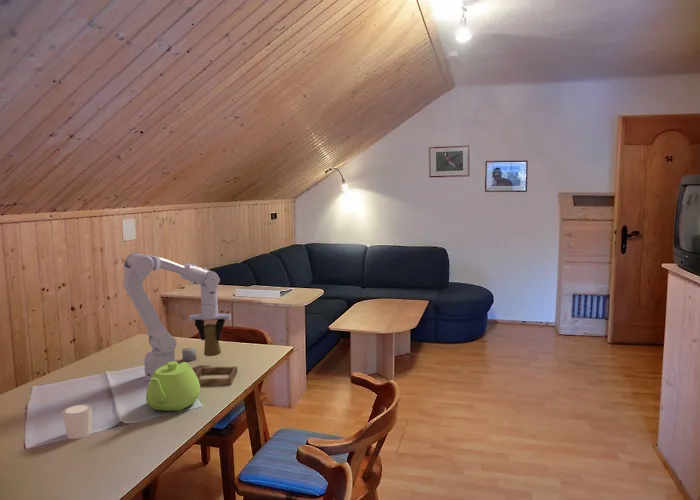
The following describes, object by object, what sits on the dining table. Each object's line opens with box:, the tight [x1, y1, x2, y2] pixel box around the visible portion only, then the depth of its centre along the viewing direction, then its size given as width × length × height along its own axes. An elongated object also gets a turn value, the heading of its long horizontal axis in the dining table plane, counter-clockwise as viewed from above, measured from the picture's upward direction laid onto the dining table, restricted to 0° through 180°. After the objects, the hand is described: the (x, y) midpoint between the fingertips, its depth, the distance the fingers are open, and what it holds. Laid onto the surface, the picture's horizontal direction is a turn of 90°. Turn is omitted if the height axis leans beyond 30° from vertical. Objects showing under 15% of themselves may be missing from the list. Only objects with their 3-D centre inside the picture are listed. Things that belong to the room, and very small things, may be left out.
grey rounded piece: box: [181, 347, 198, 363], centre depth 197 cm, size 5×5×4 cm
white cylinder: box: [62, 403, 93, 440], centre depth 137 cm, size 7×7×7 cm
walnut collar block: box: [195, 366, 238, 387], centre depth 177 cm, size 13×12×2 cm
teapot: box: [145, 360, 201, 412], centre depth 154 cm, size 22×15×13 cm
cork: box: [203, 323, 222, 357], centre depth 190 cm, size 6×6×11 cm
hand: (211, 339), depth 189 cm, fingers closed on cork, 5 cm apart
